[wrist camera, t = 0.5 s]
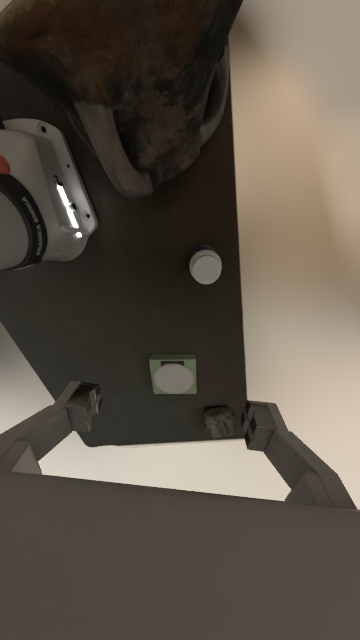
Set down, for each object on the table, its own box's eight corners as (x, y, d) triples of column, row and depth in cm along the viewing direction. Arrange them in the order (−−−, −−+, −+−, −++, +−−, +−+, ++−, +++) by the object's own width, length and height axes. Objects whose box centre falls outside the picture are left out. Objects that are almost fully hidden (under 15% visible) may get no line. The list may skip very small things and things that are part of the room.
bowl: (214, 115, 38) (203, -46, 25) (301, 158, 22) (381, -192, 10) (83, 169, 38) (12, 39, 26) (83, 245, 23) (-87, 21, 11)
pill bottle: (190, 243, 40) (190, 251, 31) (219, 245, 40) (227, 253, 31) (188, 272, 43) (188, 286, 34) (215, 274, 42) (222, 288, 34)
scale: (150, 354, 53) (148, 361, 50) (195, 353, 52) (195, 361, 50) (155, 387, 58) (153, 395, 56) (196, 387, 58) (196, 395, 55)
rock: (206, 399, 60) (206, 413, 56) (238, 407, 60) (241, 422, 56) (196, 425, 66) (195, 439, 61) (225, 433, 66) (227, 448, 61)
